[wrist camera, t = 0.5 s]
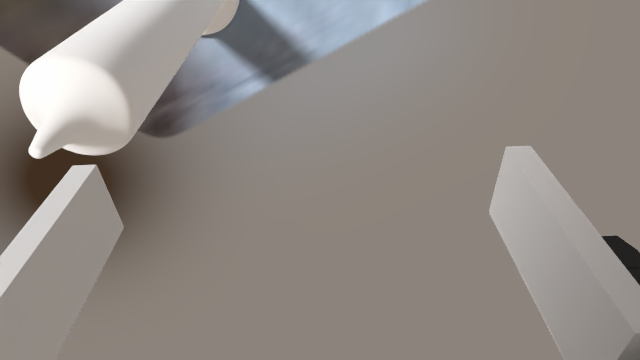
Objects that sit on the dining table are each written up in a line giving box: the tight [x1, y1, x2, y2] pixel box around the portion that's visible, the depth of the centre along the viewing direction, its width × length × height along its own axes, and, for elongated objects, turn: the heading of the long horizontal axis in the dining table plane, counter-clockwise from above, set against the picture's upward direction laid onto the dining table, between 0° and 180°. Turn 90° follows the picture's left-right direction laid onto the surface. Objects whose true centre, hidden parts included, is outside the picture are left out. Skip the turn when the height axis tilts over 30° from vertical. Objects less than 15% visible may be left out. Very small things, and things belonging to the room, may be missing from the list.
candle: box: [19, 0, 239, 159], centre depth 24 cm, size 7×7×25 cm
